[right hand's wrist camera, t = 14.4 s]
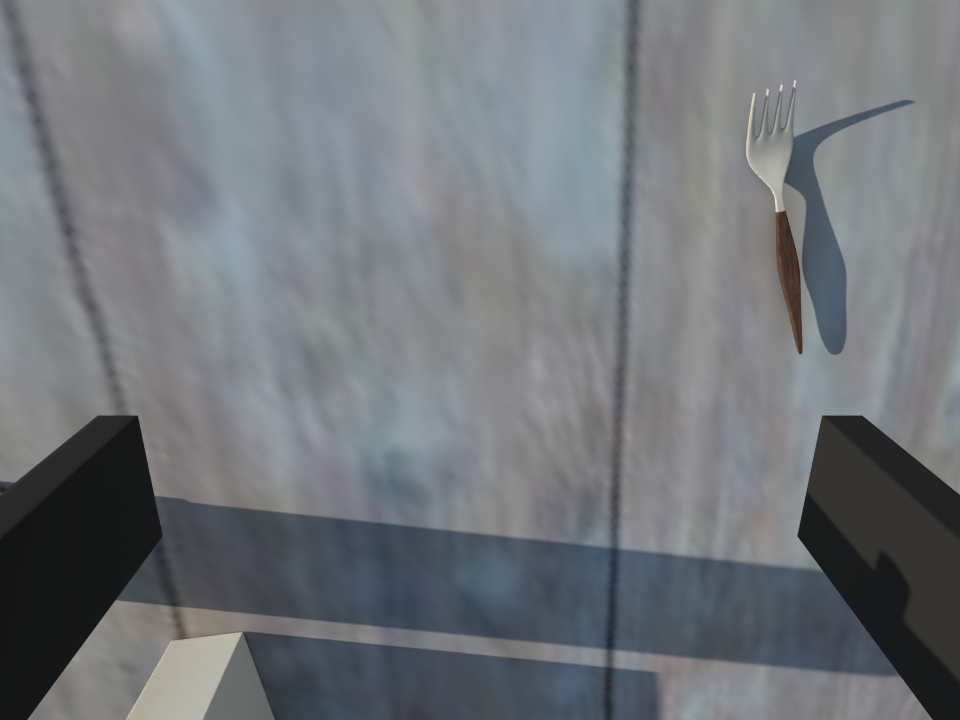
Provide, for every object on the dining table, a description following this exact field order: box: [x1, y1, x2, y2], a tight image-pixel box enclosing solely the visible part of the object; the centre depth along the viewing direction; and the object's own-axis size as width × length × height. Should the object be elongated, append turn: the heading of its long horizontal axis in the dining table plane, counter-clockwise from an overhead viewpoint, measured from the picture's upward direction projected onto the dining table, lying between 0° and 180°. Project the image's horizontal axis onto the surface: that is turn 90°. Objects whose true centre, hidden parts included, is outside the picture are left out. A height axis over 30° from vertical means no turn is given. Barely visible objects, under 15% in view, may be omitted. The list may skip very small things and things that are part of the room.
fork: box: [746, 80, 802, 354], centre depth 38 cm, size 3×16×2 cm, turn 16°
